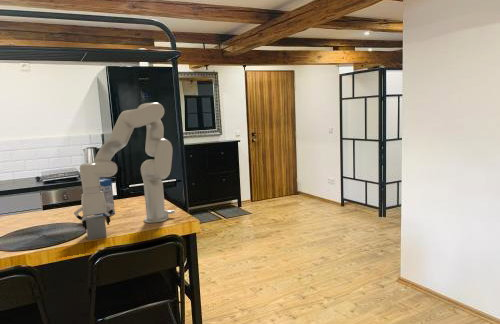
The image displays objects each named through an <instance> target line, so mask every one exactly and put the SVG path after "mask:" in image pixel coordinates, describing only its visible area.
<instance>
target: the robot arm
mask: <svg viewBox="0 0 500 324" xmlns="http://www.w3.org/2000/svg"><path fill="white" fill-rule="evenodd" d="M164 115H165V108H164V106H163V105H162V104H161V103H159V102H145V103H141V104H140V105H139V106H138V107H137V108H134V109H127V110H123V111H122V112H121V113H120V114H119V116H118V118H117V120H116V123H115V125H114V126H113V128H112V131H111V132H110V135H109V137H108V138H107V139H106V140H105V142H104V143H103V144H102V146H100V148H99V150H98V152H97V153H96V155H95V157H94V159H93V162H87V163H83V164H81V165H80V166H79V173H80V180H81V187H82V194H81V198H80V199H81V206H80V208H78V209H77V210H75V211H74V212H73V214H74V216H75V217H76V218H77V219H78V220H80V221H81V222H82V223H81V224H82V228H84V230H85V231H86V229H87V227H86V221H85V218H86V217H89V216H95V215H98V214H103V213H105V214H106V217H105V222H106V224H107V225H106V226H109V225H110V223H111V218H110V216H112V215H111V213H112V212H113V210H115V204H114V205H112V204H108V203H106V201H105V197H104V194H103V191H101V190H102V189H104V186H101V185H100V179H101V178H110V177H113V176H115V175H116V174H117V173H118V165H117V163H116V162H114V161H112V159H113V157H114V156H115V154H117V152H119V151H120V150H122V149H123V148H124V147H126V146H127V145H128V142H130V141H129V140H130V138H131V135H132V134H133V132H134V129H135V128H141V127H144V126H146V137H145V149H144V150H145V151H144V152H145V154H147V156H149V157H153V158H154V159H152V158H151V159H146V160H145V161H143V162H142V163H141V166H140V174H141V177H142V181H143V191H144V203H145V212H146V217H144V218H143V221H144V223H147V224H149V223H150V224H153V223H154V224H155V223H162V222H165V221H167V220H169V218H170V217H169V215H172V214H175V213H176V212H175V210H174V209H169V210H167V209H166V205H165V195H164V194H165V193H164V183H163V180H165V179H167V178H169V176H170V173H171V169H172V161H173V149H174V148H173V145H172V143H171V141H170V140H168V139H167V138H164V135H165V134H164V132H165V130H164V129H165V128H164V124H163V122H162V120H161V119H162V118H163V117H164ZM106 206H108V207H111V209H110V210H109V212H107V207H106ZM81 212H82V214H83V215H82V216H81V215H79V213H81Z"/></svg>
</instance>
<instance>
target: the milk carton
mask: <svg viewBox="0 0 500 324" xmlns="http://www.w3.org/2000/svg"><path fill="white" fill-rule="evenodd" d="M99 179H100V185H101V186H104V189H102V190H101V191H103V194H104V197H105V201H106V203H108V204H112V205H114V206H115V202H114V193H113V184H112V183H113V181H112V179H110V178H109V179H108V178H99ZM106 207H107V212H109V210H110V209H111V207H108V206H106ZM115 214H116V212H115V209H114V210H113V212H112V213H111V215H110V216H113V215H115ZM98 215H101V214H98ZM103 216H104V218H106V214H105V213H103Z"/></svg>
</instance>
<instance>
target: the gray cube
mask: <svg viewBox="0 0 500 324" xmlns="http://www.w3.org/2000/svg"><path fill="white" fill-rule="evenodd" d="M85 221H86V227H87V229H86V230H85V231H86V237H87V240H88V241H89V240H91V241H92V240H95V239H101V238H106V237H107V227H106V226H107V225H106V217H104V216H103V214H101V215H92V216H87V217H86V218H85Z"/></svg>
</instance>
